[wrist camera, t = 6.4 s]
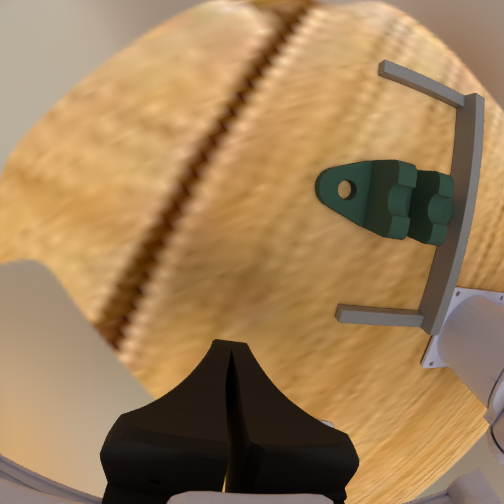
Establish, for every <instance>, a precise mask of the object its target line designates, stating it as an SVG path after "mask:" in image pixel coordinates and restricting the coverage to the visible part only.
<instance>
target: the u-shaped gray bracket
mask: <svg viewBox="0 0 504 504" xmlns="http://www.w3.org/2000/svg"><path fill="white" fill-rule="evenodd" d="M378 75H379V76H382V77H385V78H388V79H390V80H393V81H396V82H398V83H401V84H404V85H406V86H409V87H411V88H413V89H416V90H418V91H421V92H423V93H425V94H428V95H430V96H432V97H434V98H436V99H439V100H441V101H443V102H445V103H447V104H449V105H451V106H453V107H455V108H457V114H456V130H455V142H454V152H453V161H452V169H451V177H452V178H453V179H454V184H455V185H454V193H453V198H450V199H451V202H452V207H453V210H452V216H451V218H450V220H449V222H448V223H447V224H446V226H448V229H447V234H446V239H445V241H444V243H443V244H442V245H441V246H437V249H436V253H435V257H434V260H433V264H432V268H431V272H430V275H429V279H428V282H427V285H426V289H425V292H424V295H423V298H422V302H421V305H420V308H419V311H414V310H400V309H387V308H375V307H363V306H352V305H341V304H338V308H337V311H336V315H335V317H336V319H337V320H338V322H339V323H353V324H369V325H387V326H409V327H421V328H422V329H423V330H424V331H425V332H426V333H427V334H429V335H439V333H440V330H441V327H442V325H443V322H444V319H445V317H446V314H447V311H448V308H449V305H450V302H451V299H452V296H453V293H454V290H455V287H456V283H457V280H458V277H459V273H460V270H461V266H462V262H463V258H464V255H465V251H466V246H467V242H468V238H469V234H470V229H471V224H472V219H473V214H474V209H475V203H476V197H477V190H478V184H479V176H480V168H481V158H482V147H483V133H484V97H482V96H480V95H479V94H477V93H474V94H469V95H465V96H464V95H462V94H460V93H458V92H457V91H455V90H453V89H451V88H449V87H447V86H445V85H443V84H441V83H439V82H437V81H435V80H433V79H430V78H428V77H426V76H424V75H422V74H419V73H417V72H415V71H412V70H410V69H408V68H405V67H403V66H400V65H398V64H395V63H393V62H390V61H388V60H384V61H382V62H381V63H379V74H378Z"/></svg>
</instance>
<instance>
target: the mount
mask: <svg viewBox="0 0 504 504" xmlns="http://www.w3.org/2000/svg"><path fill="white" fill-rule="evenodd" d="M343 180H347V181H348V182H349V183H350V185H351V193H350V195H349V196H348V197H347V198H345V199H342V198H341V197H340V196H339V194H338V186H339V184H340V182H342V181H343ZM454 185H455V184H454V179H453V178H452V177H451V176H449V175H446V174H443V173H440V172H437V171H423V170H417V169H416V166H415V165H413V164H410V163H406V162H403V161H399V160H373V161H363V162H357V163H352V164H347V165H342V166H337V167H332V168H328V169H326V170H324V171H323V172H321V173H320V175H319V176H318V178H317V180H316V184H315V191H316V195H317V197H318V199H319V200H320V201H321V202H322V203H323V204H324V205H326V206H327V207H329V208H331V209H332V210H334V211H336V212H337V213H339V214H341V215H342V216H344V217H346V218H347V219H349V220H350V221H352V222H354V223H355V224H357V225H359V226H361V227H363V228H365V229H368V230H370V231H372V232H374V233H376V234H378V235H380V236H382V237H386V238H392V239H399V240H403V239H404V238H405V237H406V236H408V237H410V238H412V239H415V240H417V241H419V242H421V243H424V244H430V245H436V246H441V245H442V244H443V243H444V241H445V239H446V234H447V229H448V226H446V224H447V223H448V222H449V220H450V218H451V216H452V210H453V207H452V202H451V199H450V198H453V193H454Z"/></svg>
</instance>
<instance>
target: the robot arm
mask: <svg viewBox="0 0 504 504" xmlns="http://www.w3.org/2000/svg"><path fill="white" fill-rule="evenodd" d="M457 292H458V293H457ZM456 293H457V294H456ZM430 362H431V363H430ZM429 363H430V364H429ZM421 366H422V367H423V368H437V367H449V368H450V369H451V370H452V371H453V372H454V373H455V374H456V375H457V376H458V377H459V379H460V380H461V381H462V382H463V383H464V384H465V385H466V386H467V387H468V388H469V389H470V390H471V391H472V392H473V394H474V395H475V396H476V397H477V398H478V399H479V400H480V401H481V402H482V403H483V405H484V406H485V407H486V408H487V409H488V410H487V412H486V414H485V416H484V418H485V419H486V421H487V422H488V423H489V424H490V426H489V427H488V429H487V432H486V438H487V443H488V447H489V450H490V452H491V454H492V455H493V457H494V458H495V459H496V460H497V461H498V462H499V463H500V464H501V465H502V466H504V292H496V291H487V290H479V289H470V288H462V287H455V290H454V293H453V296H452V299H451V302H450V305H449V308H448V311H447V314H446V317H445V319H444V322H443V325H442V327H441V330H440V333H439V335H433V336H432V339H431V341H430V344H429V346H428V349H427V351H426V353H425V356H424V358H423V360H422V363H421ZM100 460H101V464H102V467H103V470H104V473H105V476H106V479H107V481H108V483H107V486H106V490H105V493H104V496H103V498H99V497H96V496H93V495H90V494H87V493H84V492H81V491H79V490H76V489H73V488H71V487H68V486H66V485H63V484H61V483H58V482H56V481H53V480H51V479H49V478H46V477H44V476H42V475H40V474H38V473H35V472H33V471H31V470H29V469H27V468H25V467H23V466H21V465H19V464H17V463H15V462H13V461H11V460H10V459H8V458H6V457H4V456H2V455H1V454H0V504H345V503H344V500H346V499H347V495H346V491H345V487H346V485H347V484H348V482H349V481H350V480H351V478H352V477H353V475H354V474H355V472H356V471H357V469H358V467H359V458H358V455H357V453H356V450H355V448H354V445H353V443H352V442H351V440H350V438H349V436H348V434H346V433H344V432H341V431H339V430H337V429H335V428H332V427H330V426H328V425H326V424H324V423H322V422H321V421H319V420H317V419H315V418H314V417H312V416H310V415H309V414H307V413H306V412H304V411H303V410H302V409H300V408H299V407H298V406H296V405H295V404H294V403H293V402H291V401H290V400H289V399H288V398H287V397H286V396H285V395H284V394H283V393H282V392H281V391H279V390H278V388H277V387H276V386H275V385H274V384H273V383H272V381H271V380H270V379H269V378H268V376H267V375H266V374H265V372H264V371H263V370H262V368H261V367H260V365H259V364H258V362H257V360H256V359H255V357H254V355H253V354H252V352H251V350H250V348H249V346H248V345H247V343H243V342H234V341H226V340H219V339H215V340H214V341H213V342H212V345H211V347H210V349H209V350H208V352H207V354H206V355H205V357H204V358H203V359H202V361H201V362H200V363H199V365H198V366H197V367H196V368H195V369H194V370H193V371H192V372H191V374H190V375H189V376H188V377H187V378H186V379H185V380H183V381H182V382H181V383H180V384H179V385H178V386H176V387H175V388H174V389H172V390H171V391H170V392H168V393H167V394H165V395H164V396H162V397H161V398H159V399H157V400H155V401H154V402H152V403H150V404H148V405H146V406H144V407H142V408H139V409H136V410H133V411H130V412H128V413H124V414H122V415H120V417H119V418H118V419H117V421H116V422H115V423H114V425H113V426H112V428H111V430H110V431H109V433H108V435H107V437H106V439H105V442H104V444H103V447H102V449H101V452H100ZM225 476H226V480H225ZM224 480H225V493H224V492H222V490H223V485H224ZM403 504H503V503H502V501H501V500H500V498H499V497H498V495H497V494H496V492H495V491H494V489H493V488H492V486H491V485H490V483H489V482H488V480H487V479H486V477H485V476H484V474H483V473H482V471H481V470H480V469H476V470H473V471H471V472H469V473H466V474H463V475H461V476H459V477H458V478H456V479H455V480H454V481H453V482H452V483H451V484H450V485H449V487H448V488H447V489H446V490H444V491H441V492H439V493H435V494H432V495H429V496H426V497H423V498H420V499H417V500H413V501H410V502H406V503H403Z"/></svg>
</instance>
